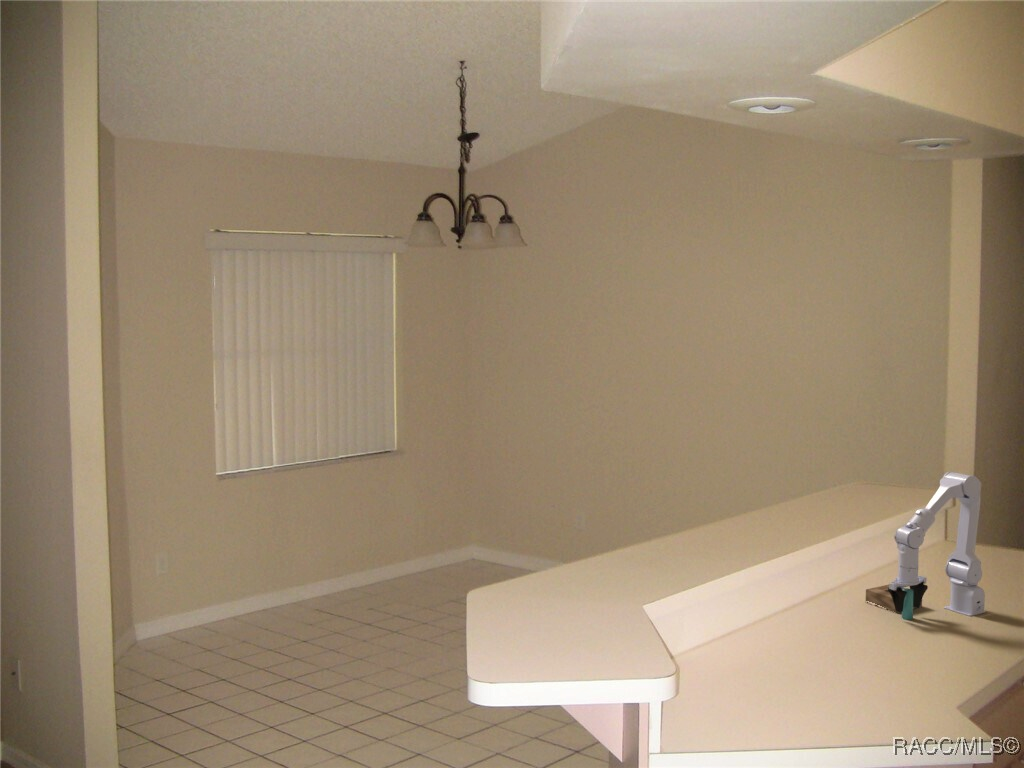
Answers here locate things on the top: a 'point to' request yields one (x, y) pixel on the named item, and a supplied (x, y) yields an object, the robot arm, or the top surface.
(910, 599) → the peg
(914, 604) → the robot arm
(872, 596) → the socket block
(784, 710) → the top surface
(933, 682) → the top surface
